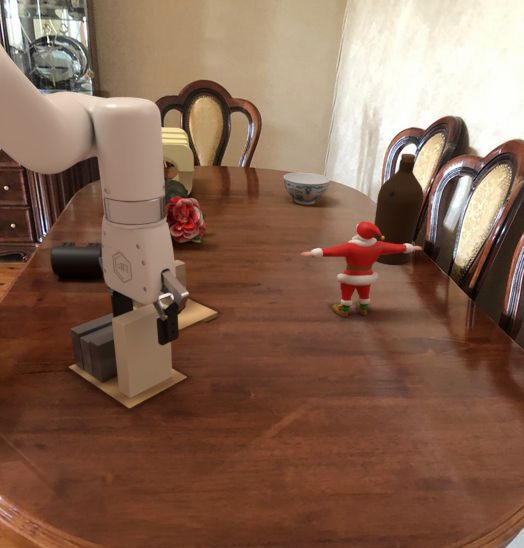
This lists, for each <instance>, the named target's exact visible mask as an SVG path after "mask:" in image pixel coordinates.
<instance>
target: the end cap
mask: <svg viewBox="0 0 524 548" xmlns="http://www.w3.org/2000/svg"><path fill="white" fill-rule="evenodd" d="M100 257H102V242H88V243H87V245H86V246H77V245H76V242H72V241H70V242H67V241H62V242H61V243H60V244H59V245H53V246H52V247H51V249H50V266H51V270H52V273H53V274H54V275H57V276H58V277H64V278H66V277H67V278H69V277H70V278H71V277H72V278H103V273H104V272H103V271H102V268H101V266H100V263H99V260H98V259H99V258H100Z"/></svg>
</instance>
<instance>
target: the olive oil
mask: <svg viewBox="0 0 524 548" xmlns="http://www.w3.org/2000/svg"><path fill="white" fill-rule="evenodd" d="M400 157H401V158H400V160H399V165H398V170H397V171H396V172H395V173H394V174H393V175H392V176H391V177H389V178H388V179H387V180H386V181H385V182H384V183H383V184H382V185H381V187H380V189H379V191H378V193H377V200H376V210H375V218H374V225H376V226H377V227H378V229H379V231H380V233H381V235H382V236H384V240H382V239H381V236H379V235H377V234H375V236H374V237H373V238H375V239H376V240H377V241H382V242H386V243H392V244H411V245H413V242H414V241H413V240H414V237H415V234H416V229H417V226H418V222H419V219H420V215H421V211H422V208H423V207H422V206H423V204H424V189H423V187H422V185H421V184H420V182H419V180H418V179H417V177H416V176H415V173H414V169H415V164H416V161H415V160H416V157H417V156H416V155H415V154H414V153H413V154H412V153H401V156H400ZM410 254H411V252H410V253H403V252H401V253H394V254H383V255H381V254H380V256H379V257H378V258H377V260H376V261H375V262H378V263H382V264H387V265H403V264H406V263H407V262H408V261H409V257H410Z"/></svg>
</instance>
